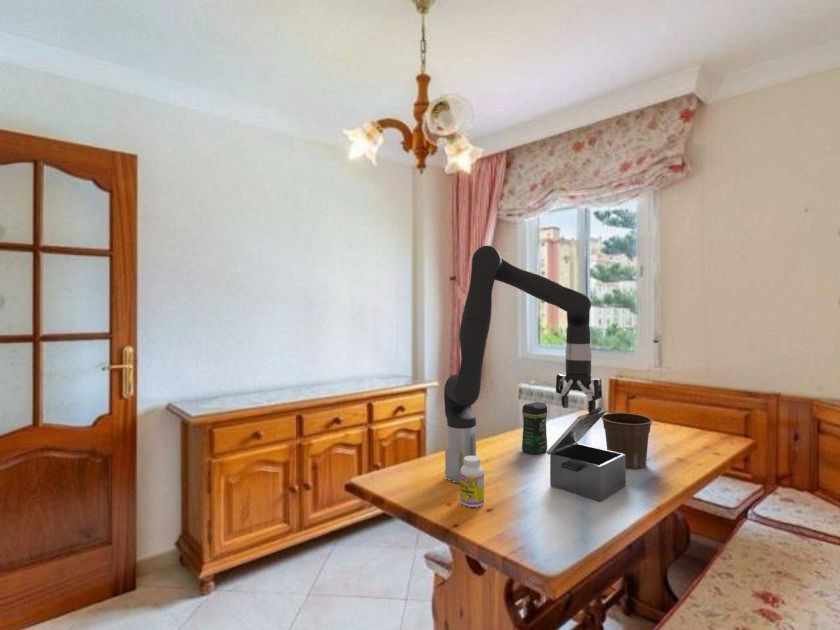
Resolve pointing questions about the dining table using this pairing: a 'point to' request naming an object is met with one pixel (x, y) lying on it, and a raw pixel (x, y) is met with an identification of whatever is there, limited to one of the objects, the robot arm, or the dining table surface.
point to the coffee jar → (534, 428)
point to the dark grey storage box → (588, 471)
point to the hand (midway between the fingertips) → (578, 409)
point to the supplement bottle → (472, 482)
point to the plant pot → (628, 436)
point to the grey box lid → (577, 430)
